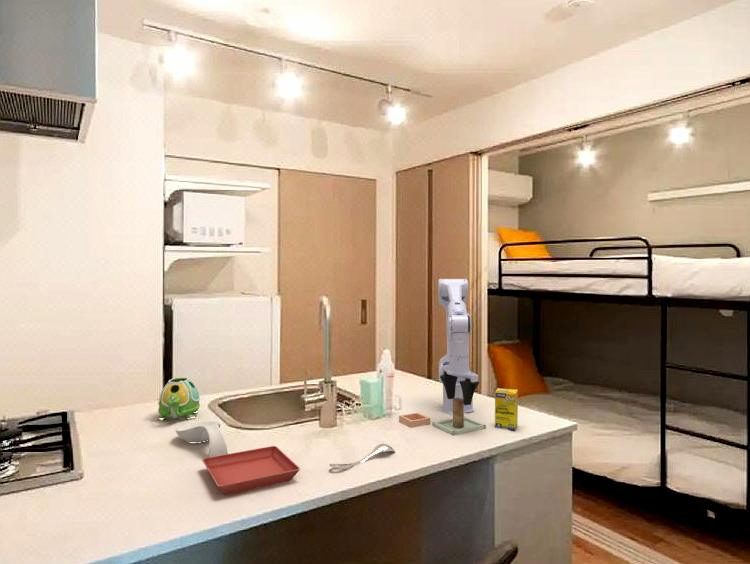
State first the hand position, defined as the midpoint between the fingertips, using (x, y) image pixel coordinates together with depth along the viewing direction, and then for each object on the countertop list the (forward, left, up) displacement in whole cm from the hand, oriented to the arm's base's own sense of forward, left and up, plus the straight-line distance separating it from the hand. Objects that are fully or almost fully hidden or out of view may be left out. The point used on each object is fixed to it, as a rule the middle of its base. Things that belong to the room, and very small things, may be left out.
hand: (459, 401), depth 149 cm
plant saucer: (+63, +3, -9) cm, 64 cm away
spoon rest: (+68, -23, -8) cm, 72 cm away
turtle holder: (+70, -53, -8) cm, 88 cm away
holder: (+9, -10, -8) cm, 16 cm away
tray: (0, 0, -8) cm, 8 cm away
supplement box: (-13, +6, -8) cm, 16 cm away
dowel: (0, 0, -7) cm, 7 cm away
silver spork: (+37, +8, -9) cm, 38 cm away
